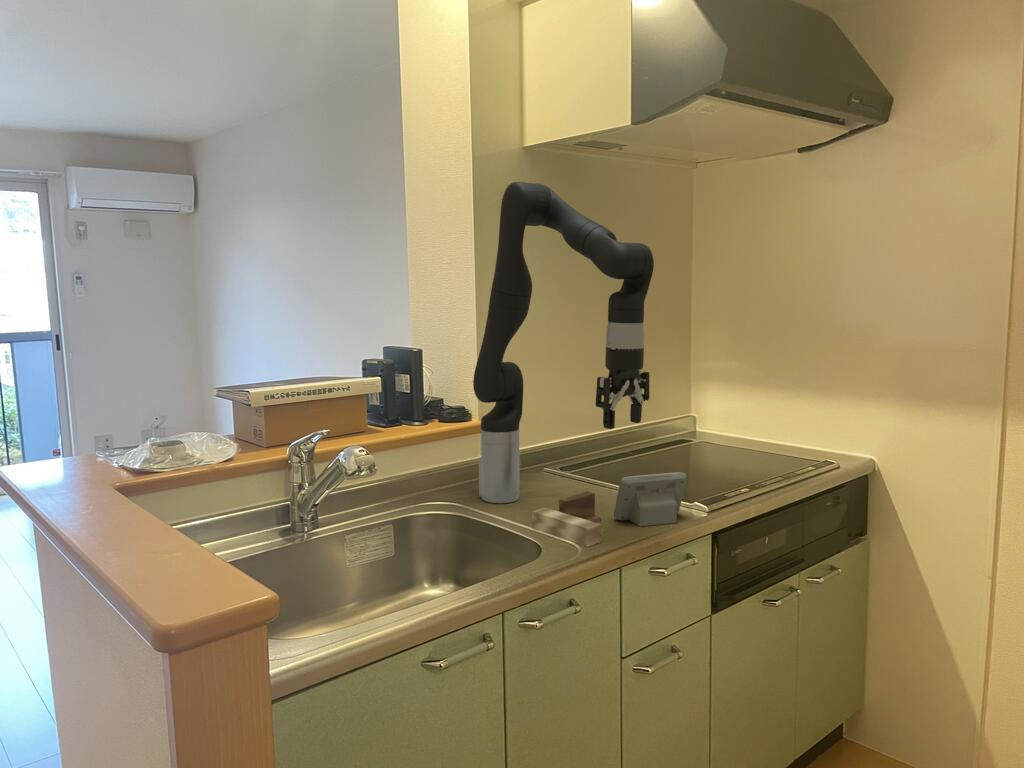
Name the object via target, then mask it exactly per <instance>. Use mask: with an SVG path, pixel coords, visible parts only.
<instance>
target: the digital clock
mask: <svg viewBox="0 0 1024 768" xmlns="http://www.w3.org/2000/svg"><path fill="white" fill-rule="evenodd" d="M687 477H688V476H687V473H685V472H681V471H680V472H677V471H676V472H667V473H666V472H664V473H654V474H653V473H652V474H643V475H640V474H639V475H631V476H624V477H622V478H621V479H620V481H619V485H618V491H617V495H616V502H615V505H614V506H615V507H614V511H613V518H614V519H615V520H617V521H630V522H632V523H634V524H635V525H637V526H639V528H641V527H649V526H657V525H659V526H660V525H667V524H668V525H669V524H676V523H677V517H678V513H679V512H680V509H681V504H682V500H683V495H684V492H685V487H686V484H687Z"/></svg>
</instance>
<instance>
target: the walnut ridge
mask: <svg viewBox="0 0 1024 768" xmlns="http://www.w3.org/2000/svg"><path fill="white" fill-rule="evenodd" d="M595 501H596V494H595V492H591V491H588V490H587V491H583V492H580V493H577V494H572V495H569V496H566V497H561V498H559V499H558V512H562V513H565V514H568V515H572V516H575V517H578V518H582V519H585V520H588V521H592V522H595V523H599V522H600V521H601V520H602V519H601V518H602V516H599V515H596V514H595V513H596V511H595V510H596V504H595V503H596V502H595Z"/></svg>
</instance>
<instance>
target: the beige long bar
mask: <svg viewBox="0 0 1024 768" xmlns="http://www.w3.org/2000/svg"><path fill="white" fill-rule="evenodd" d="M531 528H532V529H534V530H538V531H539V532H542V533H545V534H548V535H552V536H555V537H558V538H560V539H564V540H567V541H571V542H573V543H576V544H579V545H581V546H582V545H583V546H586V547H590V546H594V545H597V544H600V543H601V542H602V524H601V523H599V522H592V521H588V520H585V519H582V518H578V517H575V516H572V515H568V514H565V513H562V512H559V510H555V509H551V508H549V507H542V508H539V509H536V510H535V509H534V510H533V511H531ZM596 543H597V544H596Z"/></svg>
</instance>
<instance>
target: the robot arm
mask: <svg viewBox="0 0 1024 768" xmlns="http://www.w3.org/2000/svg"><path fill="white" fill-rule="evenodd" d="M499 216H500V217H499V228H498V229H499V230H498V231H499V232H498V242H497V243H498V244H497V245H498V246H497V252H496V254H497V255H496V260H495V268H494V274H493V275H494V276H493V279H492V284H491V289H490V296H489V302H488V310H487V317H486V323H485V328H484V333H483V338H482V343H481V346H480V350H479V354H478V357H477V361H476V363H475V368H474V373H473V380H472V384H473V391H474V395H475V397H476V399H477V400H478V401H479V402H481V403H486V404H488V403H490V404H491V403H495V405H494V406H493V407H492V409H491V410H490V411H489V412H487V413H486V414H484V415H483V416H482V417H481V419H480V446H481V447H480V448H481V449H480V451H481V453H480V455H481V456H480V458H479V459H478V497H479V498H481V500H482V501H485V502H487V503H491V504H508V503H514V502H516V501H518V500H519V499H520V422H521V419H522V416H523V402H524V378H523V374H522V371H521V368H520V367H519V366H518V364H517V363H515V362H512V361H504V360H503V359H504V356H505V352H506V350H507V348H508V346H509V344H510V342H511V341H512V339H513V338H514V336H515V335H516V334H517V332H518V330H519V329H520V328H521V326H522V325H523V323H524V321H525V320H526V318H527V316H528V314H529V310H530V305H531V299H532V294H533V293H532V292H533V280H532V276H531V274H530V270H529V268H528V265H527V262H526V258H525V256H524V237H525V229H526V227H538V226H542V227H546V228H549V229H551V230H555V231H557V232H558V233H560V234H561V236H562V237H563V240H564V241H565V243H566V244H567V245H568V246H569V247H570V248H571V249H573V250H574V251H575V252H577V253H579V254H580V255H581V256H583V257H585V258H587V259H588V260H590V261H591V262H592V264H594V265H595V266H596V268H597V269H598V270H599V271H600V272H601V273H602V274H603V275H605V276H607V277H609V278H611V279H615V280H623V281H622V284H621V288H619V290H618V291H615V292H613V293H611V294H610V295H609V296H608V301H607V303H608V305H607V307H608V308H607V325H606V326H607V327H606V333H605V361H604V362H605V364H604V365H605V368H606V369H607V370H608V376H606V377H605V376H598V377H597V380H596V391H595V407H597V408H600V409H602V412H603V413H602V414H603V417H602V424H603V428H604V429H607V430H614V429H615V422H616V410H615V408H616V407H617V404H618V402H620V401H622V398H624V397H628V398H629V401H630V411H629V413H630V414H629V416H630V419H629V421H630V422H631V423H635V424H640V423H641V422H642V415H643V413H642V412H643V405H644V403H645V402H646V401H649V400H650V372H649V371H643V369H644V363H645V362H644V360H645V325H644V323H645V301H646V298H647V295H648V292H649V288H650V283H651V280H652V276H653V273H654V267H655V262H654V256H653V252H652V250H651V249H650V247H649V246H647V245H646V244H645V243H641V242H621V241H618V240H617V237H616V234H614V232H612V231H611V230H610V228H609V229H608V228H607V227H605V226H603V225H602V224H600V223H598V222H596V221H595V220H592V219H590V218H589V217H587V216H585V215H584V214H582V213H580V212H579V211H577V210H576V209H575V208H574V207H572V206H571V205H570V204H568V203H567V202H566V201H565V200H564V199H563V198H562V197H561V196H560V195H558V194H557V193H556V192H555V191H554V190H552V189H551V188H550V187H549V186H547V185H545V184H541V183H534V182H524V181H523V182H522V181H513V182H511V183H510V184H509V185H507V187H505V190H504V192H503V195H502V199H501V205H500V215H499ZM642 389H643V391H642ZM602 399H603V401H602ZM610 401H611V402H610Z"/></svg>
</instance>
